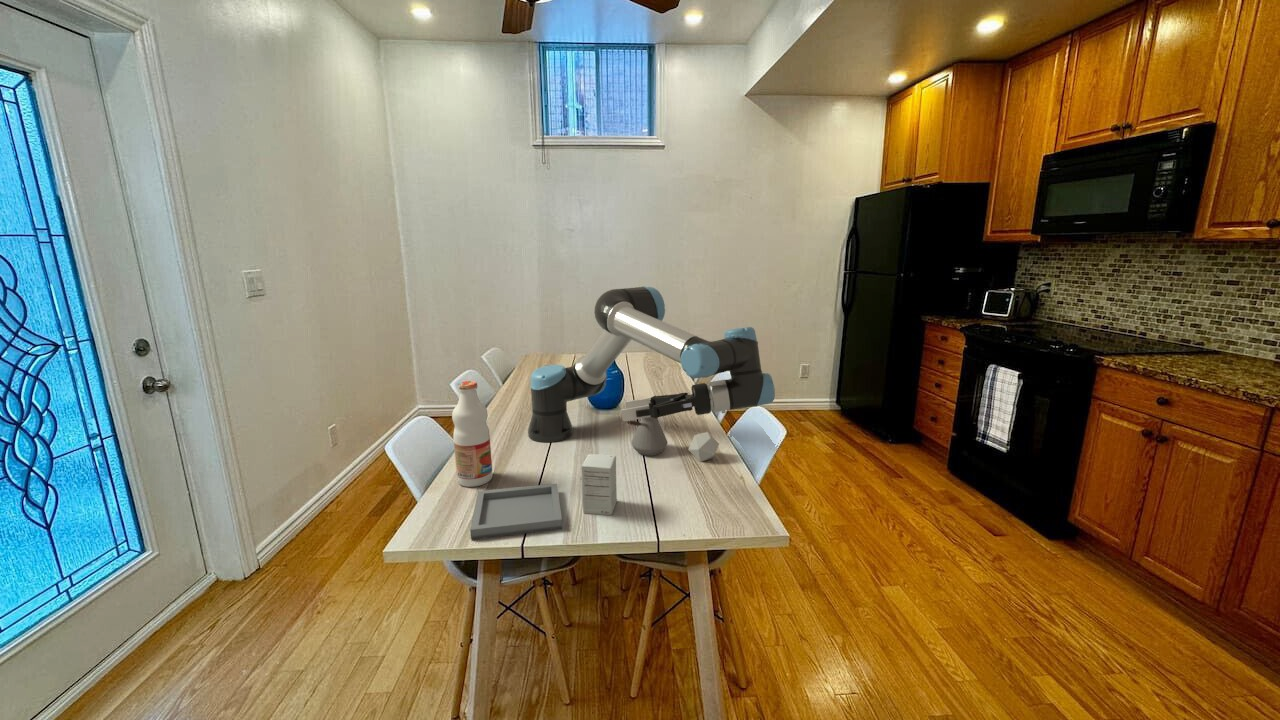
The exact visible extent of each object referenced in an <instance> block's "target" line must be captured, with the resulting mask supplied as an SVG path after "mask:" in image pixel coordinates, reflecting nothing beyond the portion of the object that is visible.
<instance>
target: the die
mask: <svg viewBox="0 0 1280 720" xmlns="http://www.w3.org/2000/svg"><path fill="white" fill-rule="evenodd" d="M719 445H720V443H719V442H718V440H716V439H715V437H714V436H712V435H711V434H710V432H708V431H705V432H701V433H697V434H694V435H693V438H692V441H691V443H690V445H689V447H688V451H689V452H690V453H691V454H692V455H693V456H694V457H695V458H696V459H697V460H698V461H699V462H700V463H701V462H704V461H708V460H711V459H714V457H715V454H716V452H717V450H718V447H719Z"/></svg>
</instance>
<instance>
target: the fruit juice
mask: <svg viewBox="0 0 1280 720" xmlns="http://www.w3.org/2000/svg"><path fill="white" fill-rule="evenodd" d="M457 389H458V391H459V397H458V398H459V399H458V402H457V404H456V405H455V407H454V408H453V410H452V413H451V418H452V419H451V420H452V422H453V426H454V430H453V433H452V434H453V439H452V440H453V447H454V449H453V450H454V460H455V470H456V480H457V483H458V484H459V485H460V486H462V487H467V488H470V487H471V488H473V487H479V486H484V485H485V484H487V483H489V482H490V481H491V480H492V478H493V464H492V462H493V461H492V448H491V435H490V428H489V426H488V424H487V421H488V416H489V415H488V408H486V406H485V405H484V403H482V402H481V400H480V398H479V396H478V392H477V390H478V382H477V381H475V380H465V381H461V382H459V383H458V384H457Z"/></svg>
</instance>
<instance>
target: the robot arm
mask: <svg viewBox="0 0 1280 720" xmlns="http://www.w3.org/2000/svg"><path fill="white" fill-rule="evenodd" d="M665 306H666V305H665V301H664V297H663V296H662V294H661V293H660V291H659V290H658V289H656V288H654V287H651V286H638V287H626V288H615V289H614V288H613V289H609V290H607V291H605V292H603V293H602V294H601V295H600V297H598V299H597V300H596V303H595V305H594V318H595V320H596V323H597V324H598V326H600V328H601V329H602V330H603V331H602V333H601V334H600V336H599V337H598V338H597V339H596V342H595V343H594V344H593V346H592V347H591V348H590V350H589V351H588V352H587V354H586V355H583V356H580V357H579V358H578V359H577V360H576V361H575V362H574V364H573V365H572V366H567V367H565V366H563V365H562V364H552V365H550V364H549V365H548V364H547V365H544V366H540V367H538V368H536V369H535V370H533V371H532V373H531V375H530V385H529V387H530V393H531V394H530V395H531V397H530V398H531V410H532V411H531V417H530V421H529V424H528V425H529V426H528V428H527V435H528V436H527V437H528V438H529V439H530V440H532V441H535V442H540V443H552V442H553V443H554V442H560V441H563V440H567V439H568V438H570V437H572V435H573V433H574V432H573V431H574V430H573V429H574V428H573V424H572V422H571V420H570V416H569V413H568V409H567V408H568V407H567V405H568V402H572V401H575V400H579V399H584V398H589V397H594V396H596V395H599V394H600V393H602V392H603V391H605V388H606V386H607V380H608V374H607V370H608V369H609V368H610V367H611V365H612V364H613V363H614V362H615V360H616V359H617V358H618V357H619V356H620V354H621V353H622V352H623V351H624V349H625V348H626V347H627V346H628V345H629V343H630V342H631V341H634V342H636V343H638V344H641V346H645V347H646V348H649V349H650V350H652V351H654V352H657V353H658V354H661V355H662V356H664V357H667V358H669V359H671V360H672V361H675V362H677V363H679V364H680V365H681V368H682V370H683V371H684V372H685V374H686V376H688V377H689V378H692V379H701V378H702V379H703V378H709V377H711V376H715V375H719V374H721V373H725V372H729V374H730V375H729V376H730V378H728V379H721V380H713V381H709V382H708V384H707V383H705V382H703V383H702V382H701V383H697V384H692V385H691V394H689V392H680V393H675V394H674V393H673V394H663V395H662V394H661V395H653V396H652V397H647V398H640V399H634V400H628V401H624V404H625V408H623V409H621V410H620V413H621V419H622V422H627V421H636V420H641V419H642V418H648V417H653V418H662V417H665V416H671V415H674V414H678V413H682V412H687V411H688V412H690V411H693V407H694V411H695V415H697V416H701V415H708V414H711V412H713V413H721V414H726V411H733V410H740V409H746V408H755V407H759V406H763V405H768V404H772V403H773V402H774V401H775V399H776V398H775V397H776V389H775V384H774V380H773V377H772V376H771V374H769V373H764V372H763V371H762V366H761V357H760V351H759V341H758V339H757V335H756V330H755V328H754V327H752V326H747V327H739V328H733V329H732V328H731V329H727V330H725V331H724V333H723V334H724V338H722V339H718V340H714V341H713V340H712V341H709V340H707V339H704V338H702V337H699V336H698V335H695V334H693V333H691V332H689V331H686V330H684V329H681V328H680V327H679V328H678V327H677V326H674V325H672V324H669V323H667V322H665V321H663V320H664V318H665V316H666V315H665V314H666V309H665ZM650 415H651V416H650Z"/></svg>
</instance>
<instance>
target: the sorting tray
mask: <svg viewBox="0 0 1280 720" xmlns="http://www.w3.org/2000/svg"><path fill="white" fill-rule="evenodd" d="M561 512H562V511H561V503H560V495H559V487H558V483H548V484H538V485H528V486H527V485H526V486H517V487H508V488H507V487H506V488H505V487H504V488H497V489H486V490H478V491H477V494H476V499H475V504H474V509H473V515H472V519H471V524H470V525H471V526H470V529H469V531H470V540H471V539H472V541H473V539H474V540H480V539H481V540H482V539H491V538H498V537H507V536H516V535H525V534H531V533H533V534H534V533H540V532H541V533H542V532H549V531H557V530H562V529H563V525H562V524H563V522H562V521H563V519H562V513H561Z"/></svg>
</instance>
